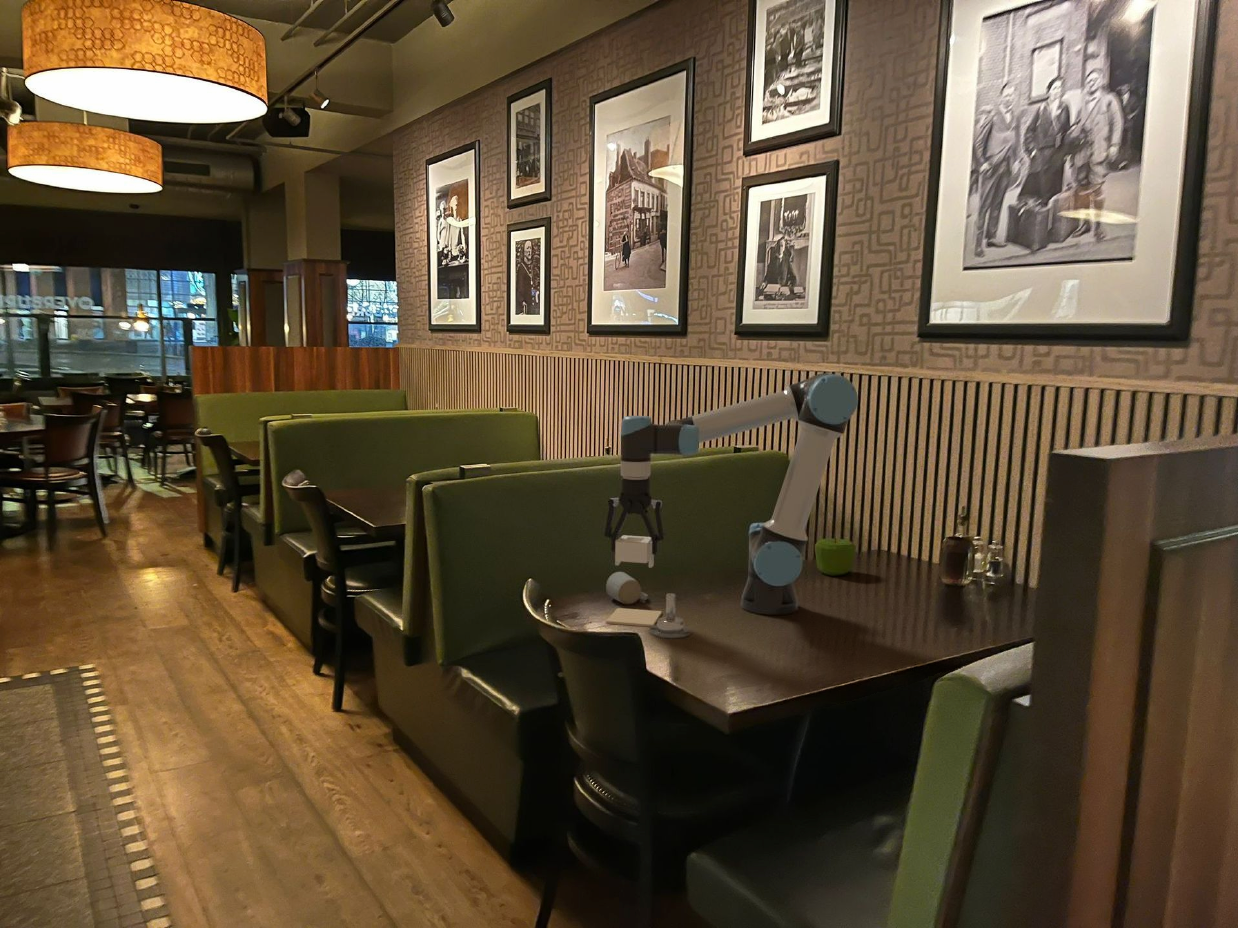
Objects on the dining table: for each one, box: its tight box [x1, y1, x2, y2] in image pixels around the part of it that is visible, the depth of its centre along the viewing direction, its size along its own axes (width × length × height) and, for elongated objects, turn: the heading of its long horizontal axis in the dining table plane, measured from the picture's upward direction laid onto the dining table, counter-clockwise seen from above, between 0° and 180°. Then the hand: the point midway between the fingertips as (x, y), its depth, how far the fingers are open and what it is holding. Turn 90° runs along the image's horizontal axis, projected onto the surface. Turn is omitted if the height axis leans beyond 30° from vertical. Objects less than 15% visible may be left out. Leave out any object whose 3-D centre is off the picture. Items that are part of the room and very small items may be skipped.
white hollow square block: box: [616, 534, 652, 564], centre depth 227 cm, size 8×8×5 cm
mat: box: [605, 607, 663, 628], centre depth 230 cm, size 12×12×1 cm
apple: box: [814, 537, 857, 577], centre depth 277 cm, size 12×12×11 cm
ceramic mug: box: [605, 571, 648, 605], centre depth 245 cm, size 11×8×8 cm
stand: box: [649, 592, 692, 640], centre depth 218 cm, size 10×10×10 cm
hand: (634, 565), depth 228 cm, fingers closed on white hollow square block, 8 cm apart
